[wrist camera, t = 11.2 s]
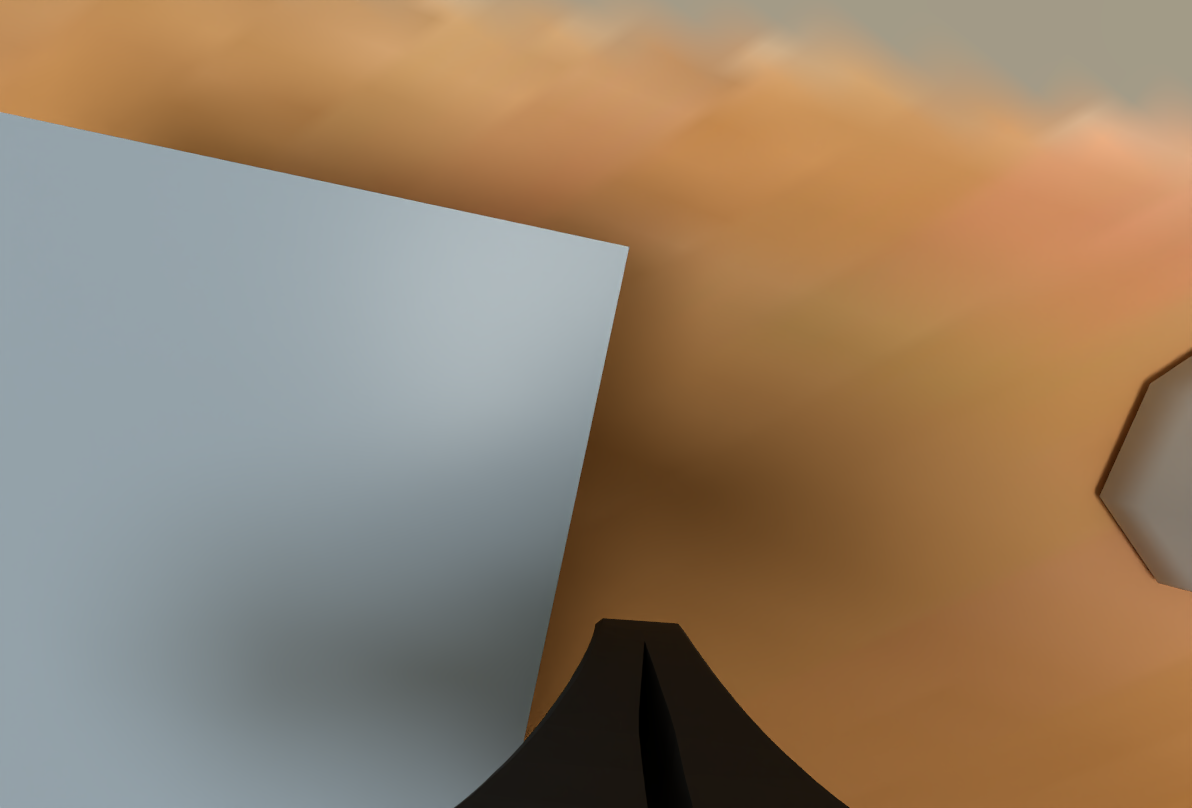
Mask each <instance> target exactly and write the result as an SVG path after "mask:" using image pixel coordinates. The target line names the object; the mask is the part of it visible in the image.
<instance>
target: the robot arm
mask: <svg viewBox="0 0 1192 808" xmlns="http://www.w3.org/2000/svg"><path fill="white" fill-rule="evenodd" d="M454 808H849V807H848V806H846V805H845V804H844V803H842V802H841V801H840V800H838V799H837V798H836V797H835V796H833V795H832V794H831V793H830V792H828V791H827V790H826V789H825V788H824V787H822V786H821V785H820V784H819V783H817V782H816V781H815V780H814V779H813V778H812V777H811V776H809V775H808V774H807V773H806V772H805V771H804V770H803V769H802V768H801V767H799V766H798V765H797V764H796V763H795V762H794V761H793V760H792V759H791V758H789V757H788V756H787V755H786V754H785V753H784V752H783V751H782V750H781V749H780V748H779V747H778V746H777V745H776V744H775V743H774V742H773V741H772V740H771V739H770V738H769V737H768V736H767V735H766V734H765V733H764V732H763V731H762V730H761V729H760V728H759V727H758V726H757V725H756V723H755V722H754V721H753V720H752V719H751V718H750V717H749V716H748V715H747V714H746V712H745V711H744V710H743V709H742V708H741V707H740V705H739V704H738V703H737V702H736V701H735V699H734V698H733V697H732V696H731V694H730V693H729V692H728V691H727V689H726V688H725V687H724V686H723V684H722V683H721V682H720V681H719V679H718V678H717V677H716V675H715V674H714V673H713V672H712V670H711V669H710V667H709V666H708V665H707V663H706V662H705V661H704V659H703V658H702V657H701V655H700V654H699V652H698V651H697V649H696V648H695V647H694V645H693V644H692V642H691V641H690V639H689V638H688V636H687V635H686V633H685V632H684V631H683V629H682V628H681V627H680V626H679V624H675V623H661V622H647V621H633V620H619V619H605V618H603V619H602V620H600V621H599V622H598V623H597V624H595V630H594V634H593V637H592V639H591V642H590V644H589V646H588V649H587V651H586V653H585V655H584V657H583V659H582V661H581V662H580V664H579V666H578V667H577V669H576V671H575V672H574V674H573V676H572V678H571V679H570V681H569V683H568V684H567V686H566V687H565V689H564V690H563V692H562V693H561V695H560V696H559V697H558V699H557V700H556V702H555V703H554V704H553V706H552V707H551V709H550V710H549V711H548V713H547V714H546V715H545V717H544V718H543V720H542V721H541V722H540V723H539V725H538V726H537V727H536V728H535V729H534V731H533V732H532V733H531V734H530V735H529V737H528V738H527V739H526V740H525V741H524V742H523V743H522V745H521V746H520V747H519V748H518V749H517V750H516V751H515V752H514V753H513V754H512V755H511V756H510V758H509V759H508V760H507V761H506V762H505V763H504V764H502V765H501V766H500V767H499V768H498V769H497V770H496V771H495V772H494V773H493V774H492V775H491V776H490V777H489V778H488V779H487V780H486V781H485V782H484V783H483V784H482V785H480V786H479V787H478V788H477V789H476V790H475V791H474V792H473V793H471V794H470V795H469V796H468V797H467V798H466V799H464V800H463V801H462V802H461V803H459V804H458V805H457V806H455V807H454Z"/></svg>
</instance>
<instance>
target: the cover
mask: <svg viewBox="0 0 1192 808" xmlns="http://www.w3.org/2000/svg"><path fill="white" fill-rule="evenodd" d="M628 250H629V247H627V246H623V245H618V244H613V243H609V242H604V241H599V240H595V239H590V238H585V237H581V236H576V235H571V234H567V233H562V232H557V231H553V230H548V229H543V228H539V227H534V226H529V225H525V224H520V223H515V222H511V221H506V220H501V219H497V218H492V217H487V216H483V215H478V214H473V213H469V212H464V211H459V210H455V209H450V208H445V207H441V206H436V205H431V204H427V203H422V202H417V201H413V200H408V199H403V198H399V197H394V196H389V195H385V194H380V193H375V192H370V191H366V190H361V189H356V188H352V187H347V186H342V185H338V184H333V183H328V182H324V181H319V180H314V179H310V178H305V177H300V176H296V175H291V174H286V173H282V172H277V171H272V170H268V169H263V168H258V167H254V166H249V165H244V164H240V163H235V162H230V161H226V160H221V159H216V158H212V157H207V156H202V155H198V154H193V153H188V152H184V151H179V150H174V149H170V148H165V147H160V146H156V145H151V144H146V143H142V142H137V141H132V140H128V139H123V138H118V137H114V136H109V135H104V134H100V133H95V132H90V131H86V130H81V129H76V128H72V127H67V126H62V125H58V124H53V123H48V122H44V121H39V120H34V119H30V118H25V117H20V116H16V115H11V114H6V113H2V112H0V808H454V807H455V806H457V805H458V804H459V803H461V802H462V801H463V800H464V799H466V798H467V797H468V796H469V795H470V794H471V793H473V792H474V791H475V790H476V789H477V788H478V787H479V786H480V785H482V784H483V783H484V782H485V781H486V780H487V779H488V778H489V777H490V776H491V775H492V774H493V773H494V772H495V771H496V770H497V769H498V768H499V767H500V766H501V765H502V764H504V763H505V762H506V761H507V760H508V759H509V758H510V756H511V755H512V754H513V753H514V752H515V751H516V750H517V749H518V748H519V747H520V746H521V745H522V743H523V742H524V737H525V732H526V728H527V723H528V718H529V714H530V709H531V704H532V699H533V695H534V690H535V685H536V681H537V676H538V671H539V667H540V662H541V657H542V653H543V648H544V643H545V639H546V634H547V629H548V625H549V620H550V615H551V611H552V606H553V601H554V597H555V592H556V587H557V583H558V578H559V573H560V569H561V564H562V559H563V554H564V550H565V545H566V540H567V536H568V531H569V526H570V522H571V517H572V512H573V508H574V503H575V498H576V494H577V489H578V484H579V480H580V475H581V470H582V466H583V461H584V456H585V452H586V447H587V442H588V438H589V433H590V428H591V423H592V419H593V414H594V409H595V405H596V400H597V395H598V391H599V386H600V381H601V377H602V372H603V367H604V363H605V358H606V353H607V349H608V344H609V339H610V335H611V330H612V325H613V321H614V316H615V311H616V307H617V302H618V297H619V293H620V288H621V283H622V278H623V274H624V269H625V264H626V260H627V255H628Z"/></svg>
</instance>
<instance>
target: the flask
mask: <svg viewBox="0 0 1192 808" xmlns="http://www.w3.org/2000/svg"><path fill="white" fill-rule="evenodd" d="M1100 498H1101V499H1102V501H1103V502H1104V504H1105V505H1106V507H1107V508H1108V510H1109V511H1110V513H1111V514H1112V516H1113V517H1114V518H1115V520H1116V521H1117V523H1118V524H1119V526H1120V527H1121V529H1122V530H1123V532H1124V533H1125V535H1126V536H1127V538H1128V539H1129V541H1130V542H1131V544H1132V545H1133V546H1134V548H1135V549H1136V551H1137V552H1138V554H1139V555H1140V557H1141V558H1142V560H1143V561H1144V563H1145V564H1146V566H1147V567H1148V569H1149V570H1150V572H1151V573H1152V574H1153V576H1154V577H1155V579H1156V580H1157V582H1158V583H1160V584H1164V585H1168V586H1172V587H1176V588H1180V589H1183V590H1187V591H1191V592H1192V356H1191V357H1189V358H1188V359H1186V360H1185V361H1183V362H1182V363H1180V364H1179V365H1177V366H1176V367H1174V368H1173V369H1171V370H1170V371H1168V372H1167V373H1165V374H1164V375H1162V376H1161V377H1159V378H1158V379H1156V380H1155V381H1153V382H1152V383H1150V385H1149V387H1148V390H1147V392H1146V394H1145V396H1144V399H1143V401H1142V403H1141V405H1140V407H1139V410H1138V412H1137V414H1136V416H1135V419H1134V421H1133V423H1132V425H1131V427H1130V430H1129V432H1128V434H1127V436H1126V439H1125V441H1124V443H1123V445H1122V447H1121V450H1120V452H1119V454H1118V456H1117V459H1116V461H1115V463H1114V465H1113V467H1112V470H1111V472H1110V474H1109V476H1108V479H1107V481H1106V483H1105V485H1104V487H1103V490H1102V492H1101V494H1100Z"/></svg>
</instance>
